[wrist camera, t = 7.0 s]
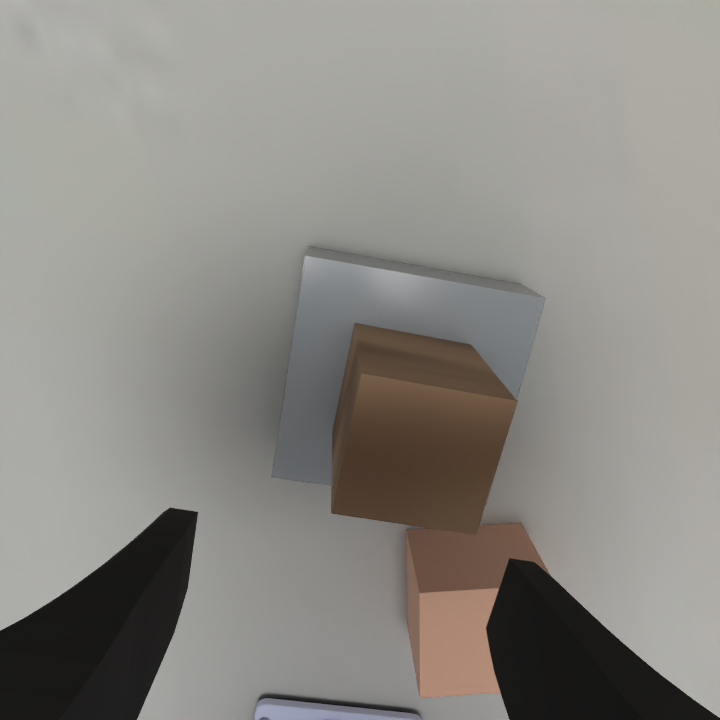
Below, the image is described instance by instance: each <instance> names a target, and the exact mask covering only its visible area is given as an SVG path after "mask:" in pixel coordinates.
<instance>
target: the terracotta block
mask: <svg viewBox="0 0 720 720" xmlns="http://www.w3.org/2000/svg"><path fill="white" fill-rule="evenodd" d="M509 558H512V559H519V560H525V561H532V562H535V563H536V564H537V565H539V566H540V567H541V568H542V569H543V570H545V571H546V572H547V573H548V574H549V572H548V570H547V569H546V567H545V565H544V563H543V561H542V560H541V558H540V556H539V554H538V552H537V551H536V549H535V547H534V545H533V543H532V541H531V540H530V538H529V536H528V534H527V532H526V531H525V529H524V527H523V525H522V523H509V524H492V525H479V527H478V530H477V533H476V535H473V534H466V533H459V532H453V531H446V530H439V529H433V528H423V529H406V561H407V625H408V631H409V637H410V643H411V648H412V654H413V660H414V666H415V672H416V678H417V684H418V690H419V696H420V698H426V697H440V696H455V695H469V694H484V693H498V692H500V689H499V686H498V683H497V679H496V676H495V673H494V668H493V664H492V659H491V654H490V649H489V643H488V638H487V632H486V626H487V623H488V620H489V617H490V614H491V611H492V608H493V605H494V602H495V599H496V596H497V593H498V590H499V587H500V584H501V581H502V578H503V576H504V573H505V570H506V567H507V564H508V561H509ZM549 575H550V574H549Z"/></svg>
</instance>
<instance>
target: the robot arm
mask: <svg viewBox="0 0 720 720" xmlns="http://www.w3.org/2000/svg"><path fill="white" fill-rule="evenodd" d="M197 515H198V512H194V511H188V510H181V509H174V508H169V509H168V510H166V511H164V512H163V513H162V514H161V515H160V516H159V517H158V518H157V519H156V520H155V521H154V522H153V523H152V524H150V525H149V526H148V527H147V528H146V529H145V530H144V531H143V532H142V533H141V534H139V535H138V536H137V537H136V538H135V539H134V540H133V541H131V542H130V543H129V544H128V545H127V546H125V547H124V548H123V549H122V550H121V551H119V552H118V553H117V554H116V555H114V556H113V557H112V558H111V559H110V560H108V561H107V562H106V563H105V564H103V565H102V566H101V567H99V568H98V569H97V570H95V571H94V572H93V573H91V574H90V575H88V576H87V577H86V578H84V579H83V580H82V581H80V582H79V583H78V584H76V585H75V586H74V587H72V588H71V589H69V590H68V591H66V592H65V593H63V594H62V595H60V596H59V597H57V598H56V599H54V600H53V601H51V602H50V603H48V604H46V605H45V606H43V607H42V608H40V609H38V610H37V611H35V612H33V613H32V614H30V615H29V616H27V617H25V618H23V619H22V620H20V621H18V622H16V623H14V624H12V625H10V626H9V627H7V628H5V629H3V630H1V631H0V720H137V718H138V716H139V713H140V711H141V709H142V706H143V704H144V702H145V699H146V697H147V695H148V692H149V690H150V688H151V685H152V683H153V681H154V679H155V676H156V674H157V672H158V669H159V667H160V665H161V662H162V660H163V658H164V655H165V653H166V651H167V648H168V646H169V644H170V641H171V639H172V636H173V634H174V631H175V628H176V625H177V622H178V618H179V615H180V612H181V609H182V605H183V602H184V599H185V595H186V592H187V589H188V581H189V574H190V567H191V559H192V552H193V545H194V537H195V530H196V523H197ZM486 632H487V638H488V643H489V649H490V654H491V659H492V664H493V668H494V673H495V676H496V679H497V683H498V686H499V689H500V692H501V695H502V698H503V701H504V704H505V707H506V710H507V713H508V716H509V719H510V720H720V718H719V717H717V716H716V715H714V714H713V713H712V712H710V711H709V710H707V709H706V708H704V707H703V706H702V705H700V704H699V703H697V702H696V701H695V700H693V699H692V698H691V697H689V696H688V695H687V694H685V693H684V692H683V691H681V690H680V689H679V688H677V687H676V686H675V685H673V684H672V683H671V682H669V681H668V680H667V679H665V678H664V677H663V676H662V675H660V674H659V673H658V672H657V671H655V670H654V669H653V668H652V667H650V666H649V665H648V664H647V663H646V662H644V661H643V660H642V659H641V658H640V657H639V656H637V655H636V654H635V653H634V652H633V651H631V650H630V649H629V648H628V647H627V646H626V645H624V644H623V643H622V642H621V641H620V640H619V639H618V638H617V637H615V636H614V635H613V634H612V633H611V632H610V631H609V630H608V629H607V628H605V627H604V626H603V625H602V624H601V623H600V622H599V621H598V620H597V619H596V618H595V617H594V616H592V615H591V614H590V613H589V612H588V611H587V610H586V609H585V608H584V607H583V606H582V605H581V604H580V603H579V602H578V601H577V600H576V599H574V598H573V597H572V596H571V595H570V594H569V593H568V592H567V591H566V590H565V589H564V588H563V587H562V586H561V585H560V584H559V583H558V582H557V581H555V580H554V579H553V578H552V577H551V576H550V575H549V574H548V573H547V572H546V571H545V570H543V569H542V568H541V567H540V566H539V565H537V564H536V563H535V562H532V561H525V560H519V559H512V558H509V561H508V564H507V567H506V570H505V573H504V576H503V578H502V581H501V584H500V587H499V590H498V593H497V596H496V599H495V602H494V605H493V608H492V611H491V614H490V617H489V620H488V623H487V626H486ZM254 720H421V718H420V716H418V715H417V714H413V713H405V712H395V711H386V710H376V709H367V708H357V707H348V706H338V705H328V704H319V703H309V702H300V701H290V700H281V699H271V698H264V699H261V700H260V701H259V702H258V703H257V705H256V710H255V715H254Z"/></svg>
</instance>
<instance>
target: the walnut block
mask: <svg viewBox="0 0 720 720" xmlns="http://www.w3.org/2000/svg"><path fill="white" fill-rule="evenodd" d="M516 404H517V400H516V399H515V397H514V396H513V395H512V394H511V393H510V391H509V390H508V389H507V388H506V386H505V385H504V384H503V383H502V382H501V380H500V379H499V378H498V377H497V375H496V374H495V373H494V372H493V371H492V369H491V368H490V367H489V366H488V365H487V363H486V362H485V361H484V360H483V358H482V357H481V356H480V355H479V354H478V352H477V351H476V350H475V349H474V347H473V346H472V345H471V344H466V343H461V342H455V341H450V340H445V339H439V338H434V337H429V336H423V335H418V334H413V333H407V332H402V331H396V330H391V329H386V328H380V327H375V326H370V325H364V324H359V323H354V328H353V333H352V338H351V342H350V347H349V352H348V357H347V362H346V367H345V372H344V377H343V381H342V386H341V391H340V396H339V401H338V406H337V411H336V416H335V420H334V425H333V430H332V500H331V513H333V514H339V515H346V516H353V517H359V518H366V519H373V520H379V521H386V522H393V523H399V524H406V525H413V526H419V527H426V528H433V529H439V530H446V531H453V532H459V533H466V534H473V535H476V533H477V530H478V527H479V523H480V520H481V517H482V514H483V511H484V507H485V504H486V501H487V498H488V494H489V491H490V488H491V485H492V482H493V478H494V475H495V472H496V469H497V466H498V462H499V459H500V456H501V453H502V449H503V446H504V443H505V440H506V437H507V433H508V430H509V427H510V424H511V420H512V417H513V414H514V411H515V408H516Z"/></svg>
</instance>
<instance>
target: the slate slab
mask: <svg viewBox="0 0 720 720" xmlns="http://www.w3.org/2000/svg"><path fill="white" fill-rule="evenodd" d="M545 299H546V298H544V297H543V296H541V295H539V294H537V293H535V292H534V291H532V290H530V289H528V288H527V287H525V286H523V285H521V284H517V283H511V282H505V281H500V280H494V279H489V278H483V277H477V276H472V275H466V274H461V273H455V272H450V271H444V270H438V269H433V268H427V267H422V266H416V265H410V264H405V263H399V262H394V261H388V260H383V259H377V258H371V257H366V256H360V255H355V254H349V253H343V252H338V251H332V250H327V249H321V248H315V247H310V246H308V249H307V252H306V254H305V259H304V266H303V272H302V279H301V285H300V292H299V299H298V305H297V312H296V318H295V325H294V332H293V338H292V345H291V351H290V358H289V365H288V371H287V378H286V384H285V391H284V398H283V404H282V411H281V418H280V424H279V431H278V437H277V444H276V451H275V457H274V464H273V470H272V477H273V478H281V479H288V480H295V481H303V482H310V483H317V484H325V485H332V430H333V425H334V420H335V416H336V411H337V406H338V401H339V396H340V391H341V386H342V381H343V377H344V372H345V367H346V362H347V357H348V352H349V347H350V342H351V338H352V333H353V328H354V323H359V324H364V325H370V326H375V327H380V328H386V329H391V330H396V331H402V332H407V333H413V334H418V335H423V336H429V337H434V338H439V339H445V340H450V341H455V342H461V343H466V344H471V345H472V346H473V347H474V349H475V350H476V351H477V352H478V354H479V355H480V356H481V357H482V358H483V360H484V361H485V362H486V363H487V365H488V366H489V367H490V368H491V369H492V371H493V372H494V373H495V374H496V375H497V377H498V378H499V379H500V380H501V382H502V383H503V384H504V385H505V386H506V388H507V389H508V390H509V391H510V393H511V394H512V395H513V396H514V397H515V399H517V396H518V393H519V389H520V386H521V382H522V379H523V375H524V372H525V368H526V365H527V361H528V358H529V354H530V351H531V347H532V344H533V340H534V337H535V334H536V330H537V327H538V323H539V320H540V316H541V313H542V309H543V306H544V302H545ZM494 476H495V475H494ZM493 479H494V478H493ZM492 483H493V482H492ZM491 486H492V485H491ZM490 490H491V488H490ZM489 493H490V491H489ZM488 497H489V494H488ZM487 500H488V498H487ZM486 504H487V501H486ZM486 504H485V506H486Z"/></svg>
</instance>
